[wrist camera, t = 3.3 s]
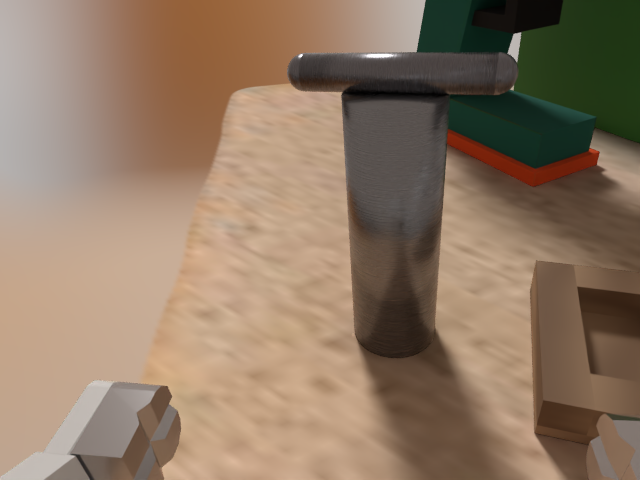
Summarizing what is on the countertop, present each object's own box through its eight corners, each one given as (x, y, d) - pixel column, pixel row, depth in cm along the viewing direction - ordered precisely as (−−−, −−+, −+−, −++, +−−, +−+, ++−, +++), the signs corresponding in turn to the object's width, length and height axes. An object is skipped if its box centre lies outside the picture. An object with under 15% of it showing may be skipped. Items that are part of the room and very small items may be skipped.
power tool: (810, 245, 28) (1088, -239, 17) (733, 287, 25) (995, -243, 14) (450, 103, 52) (466, -131, 41) (394, 117, 50) (395, -126, 39)
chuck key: (482, 314, 25) (521, 38, 18) (477, 373, 22) (521, 68, 15) (327, 291, 28) (304, 41, 20) (303, 341, 25) (265, 68, 17)
